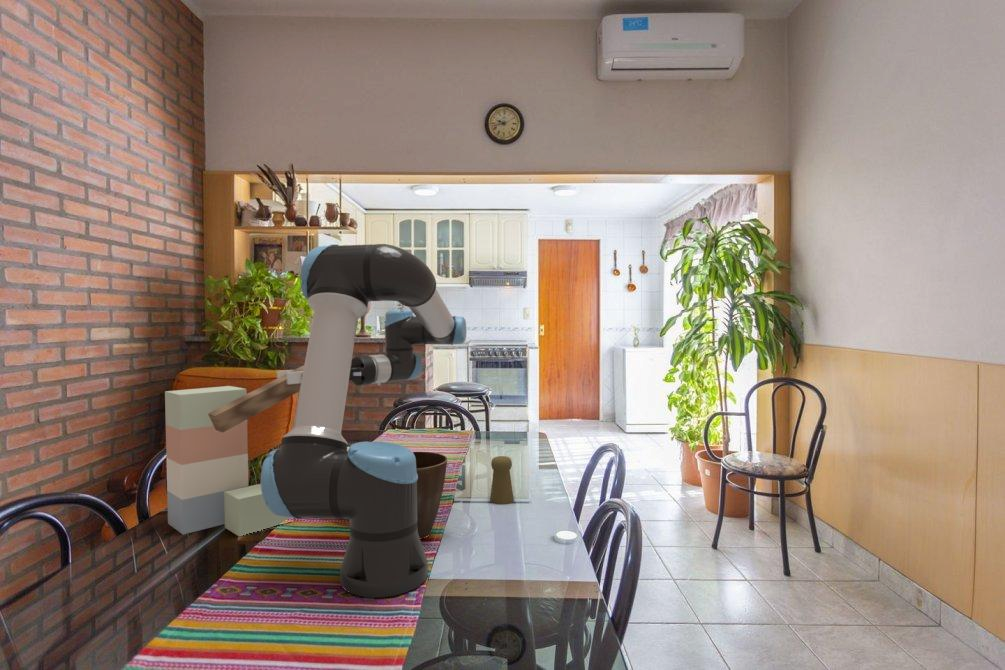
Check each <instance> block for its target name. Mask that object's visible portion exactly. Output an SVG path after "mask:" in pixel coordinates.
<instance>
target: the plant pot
mask: <svg viewBox="0 0 1005 670" xmlns="http://www.w3.org/2000/svg"><path fill="white" fill-rule="evenodd" d="M412 452H413V453H414V455H415V458H416V470H417V474H418V480H417V530H418V534H419V537H420V538H424V537H426V536H428V535H429V536H430V535H431V533H432V531H433V527H434V525H435V522H436V518H437V515H438V512H439V508H440V506H441V505H440V504H441V500H442V495H443V491H444V486H445V480H446V473H447V465H448V457H447V456H446V455H444V454H441V453H437V452H432V451H431V452H430V451H412ZM429 536H428V537H429ZM426 538H427V537H426ZM424 539H425V538H424Z"/></svg>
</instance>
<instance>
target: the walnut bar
mask: <svg viewBox="0 0 1005 670" xmlns="http://www.w3.org/2000/svg"><path fill="white" fill-rule="evenodd" d="M292 370H293V371H291V372H298V371H303V370H304V364H303V365H302V366H301V365H300V366H299V367H298V368H295V369H292ZM300 386H301V383H298V384H287V380H286V375H284V376H282V377H280V378H278V379H277V378H276V379H274V380H271V381H269V382H268V383H266V384H263V385H262V386H260V387H258V388H257V389H255V390H254V389H253V390H252V391H250V392H248V393H247V394H246V395H244V396H242V397H240V398H238V399H236V400H234V401H232V402H230V403H228V404H226V405H224V406H222V407H220V408H218V409H216V410H214V411H212V412H210V413H208V415H209V417H210V419H211V421H212V423H213V425H214V427H215V429H216V430H217V431H220V432H225V431H227V430H229V429H230V428H232V427H234V426H236V425H238V424H240V423H242V422H243V421H245V420H247V421H248V420H249V419H251V418H252V417H254V416H257V415H258V414H260V413H261V412H263V411H266V410H267V409H270V408H271V407H273V406H275V405H277V404H278V403H280V402H282V401H284V400H287V399H288V398H290V397H292V396H294V395H296V394H297V393H299V392H300Z"/></svg>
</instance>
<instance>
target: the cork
mask: <svg viewBox="0 0 1005 670" xmlns="http://www.w3.org/2000/svg"><path fill="white" fill-rule="evenodd" d="M490 465H491V466H490V467H491V468H492V470H493V473H492V479H491V480H492V481H491V488H490V496H489V501H490V503H492V504H495V505H507V504H511V503H513V502H514V501H515V499H514V493H513V485H512V477H511V476H512V475H511V469H512V465H513V462H512V459H511V457H509V456H507V455H506V456H505V455H498V456H495V457H493V458H492V460H491V462H490Z"/></svg>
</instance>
